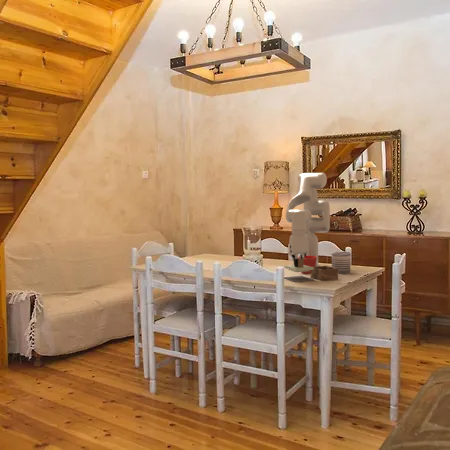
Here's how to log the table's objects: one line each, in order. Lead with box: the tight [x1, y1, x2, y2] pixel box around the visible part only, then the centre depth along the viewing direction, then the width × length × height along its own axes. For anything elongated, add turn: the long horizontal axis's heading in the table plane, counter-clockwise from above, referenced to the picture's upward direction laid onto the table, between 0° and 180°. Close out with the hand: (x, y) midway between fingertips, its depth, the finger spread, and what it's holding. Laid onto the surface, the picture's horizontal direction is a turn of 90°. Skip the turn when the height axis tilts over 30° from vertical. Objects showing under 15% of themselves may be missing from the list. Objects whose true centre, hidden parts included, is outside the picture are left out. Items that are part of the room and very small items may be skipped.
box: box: [310, 265, 339, 282], centre depth 289 cm, size 12×10×6 cm
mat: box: [284, 275, 316, 283], centre depth 288 cm, size 14×12×1 cm
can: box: [331, 251, 352, 275], centre depth 307 cm, size 11×11×12 cm
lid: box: [283, 257, 313, 273], centre depth 287 cm, size 13×11×7 cm
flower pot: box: [297, 255, 317, 275], centre depth 308 cm, size 11×11×10 cm
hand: (298, 265), depth 287 cm, fingers closed on lid, 2 cm apart
